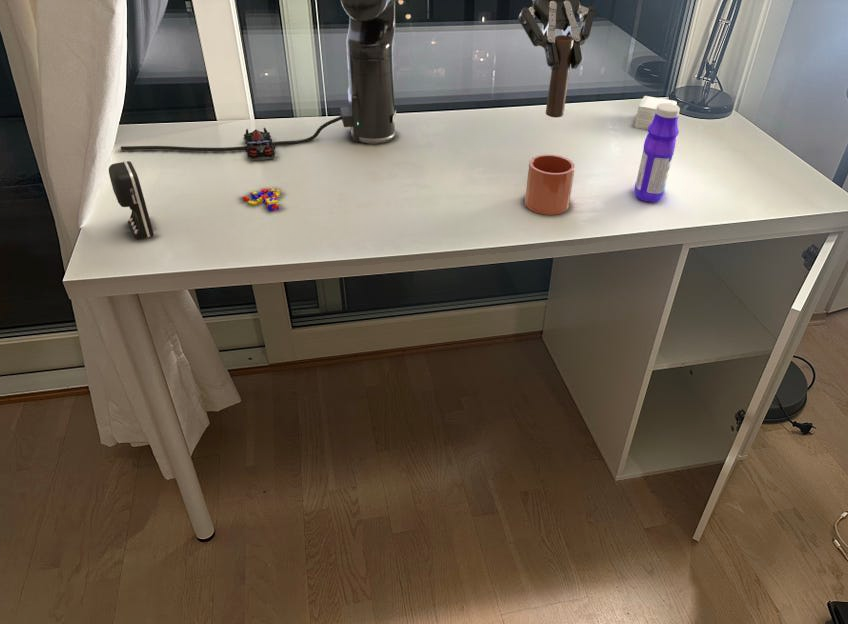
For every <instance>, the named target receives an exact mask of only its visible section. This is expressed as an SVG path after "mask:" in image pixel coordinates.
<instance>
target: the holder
mask: <svg viewBox="0 0 848 624" xmlns="http://www.w3.org/2000/svg"><path fill="white" fill-rule="evenodd" d="M575 166H576V165H575V163H574V162H573V160H570V159H569V158H567V157H564V156H562V155H556V154H540V155H536V156H533V157H532V158H531V159H529V161H528V170H527V178H526V188H525V197H524V205H525V207H527V209H529V211H532V212H533V213H536V214H540V215H546V216H554V215H555V216H556V215H560V214H563V213H565V212H567V211H568V209H569V206H570V201H571V194H572V188H573V182H574V175H575V168H576V167H575Z"/></svg>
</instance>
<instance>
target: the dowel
mask: <svg viewBox="0 0 848 624" xmlns="http://www.w3.org/2000/svg"><path fill="white" fill-rule="evenodd" d="M573 42H574V38H573V37H570V36H565V35H563V34H560V35H556V36H554V43H556V48H557V54H558V60H559V65H558V67H557V68H556V69H555V70H551V69H550V75H549V82H548V89H547V90H548V91H547V100H546V108H545V115H546V116H547V117H550V118H561V117H563V116H564V113H565V106H566V99H567V93H568V85H569V76H570V69H571V57H572V49H573Z"/></svg>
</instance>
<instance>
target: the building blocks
mask: <svg viewBox="0 0 848 624" xmlns="http://www.w3.org/2000/svg"><path fill="white" fill-rule="evenodd" d="M264 194H265V195H264ZM280 195H281V193H280V189H276V188H274V187H272V186H269V188H262V189H261V190H260V192H257V191H255V190H254V191H252V190H249V196H250V197H251V200H250V198H249V197H247V196H246V195H245V196H242V200H243V201H244V202H245V203H246V202H248V205H249V206H257V205H259V204H260V203H261V204H262V203H263V204H264V205H265V207H266V208H267V210H268V211H269V212H273V211H278V210H279V209H280V207H279V201H278V199H277V198H280ZM254 200H256V201H254Z"/></svg>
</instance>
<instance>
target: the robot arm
mask: <svg viewBox="0 0 848 624" xmlns="http://www.w3.org/2000/svg"><path fill="white" fill-rule="evenodd" d="M531 1H532V4H531V6H530V7H529V8H528V7H526V6H525V7H523V8H522V9H521V11H520V13H519V15H518V17H517V18H518V21H519V23H520V25H521V26H522V29H523V30H524V32H525V34H526V36H527V37H528V39H529V40H530V42H531V44H532V45H533V46H534V47H541V48H543V49H544V53H545V60H546V64H547V66H548V67H550V71H551V70H555V69H556V68H557V67H558V65H559V60H558V54H557V48H556V43H554V41H555V30H560V31H561V33H562V35H565V36H570V37H573V38H574V42H573V49H572V57H571V64H570V69H572V70H576V69H577V68H578V67H579V66H580V64H581V63H582V60H583V55H582V49H581V46H583V45H584V44H585V43H586V41H587V39H588V38H589V37H590V35H591V30H592V26H593V21H594V18H595V13H596V8H595V6H594V5H589V6H588V7H586V6H584V5H581V2H580V1H579V0H531ZM340 3H341V6H342V8H343V10H344V11H345V13H346V15H348V16H349V21H348V23H349V24H348V30H347V35H346V57H347V76H348V87H347V98H348V106H341V107H340V116H337V117H334V118H332V119H330V120H329V121H327V122H324V123H323V124H322V125H320V126H319V127H318V128H317V130H316V131H315V132H314V134H313V135H311V136H310V137H309V136H308V137H307V138H304V139H299V140H298V139H297V140H280V141H272V144H273V145H275V146H284V145H285V146H286V145H298V144H303V143H305V144H306V143H308V142H311V141H313V140H314V139H316V138H317V137H318V136H319V134H320V133H321V131H323V130H324V129H325V128H326V127H328V126H330V125H333V124H334V123H337V122H339V121H341V122H342V125H343V127H344V128H349V130H350V134H351V138H352V140H353V142H354V143H364V144H370V145H371V144H372V145H374V144H377V145H378V144H383V143H387V142H390V141H392V140H393V139H395V137H396V125H395V121H396V118H397V110H395V81H394V76H395V75H394V41H395V34H396V0H340ZM577 15H579V22H581V25H580V30H578V22H577V20H576V16H577ZM535 18H536V19H537V20H538V21H539V22H540V24H541V25H542V29H541V28H540V25H539V24H538V22H537V21H536V19H535ZM246 146H247V145H244V146H230V147H228V146H227V147H226V146H225V147H198V146H197V147H194V146H172V145H131V146H130V145H128V146H123V145H122V146H120V150H121V151H142V150H143V151H145V150H146V151H148V150H150V151H153V150H155V151H157V150H159V151H163V150H164V151H183V152H185V151H187V152H237V151H245V147H246Z"/></svg>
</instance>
